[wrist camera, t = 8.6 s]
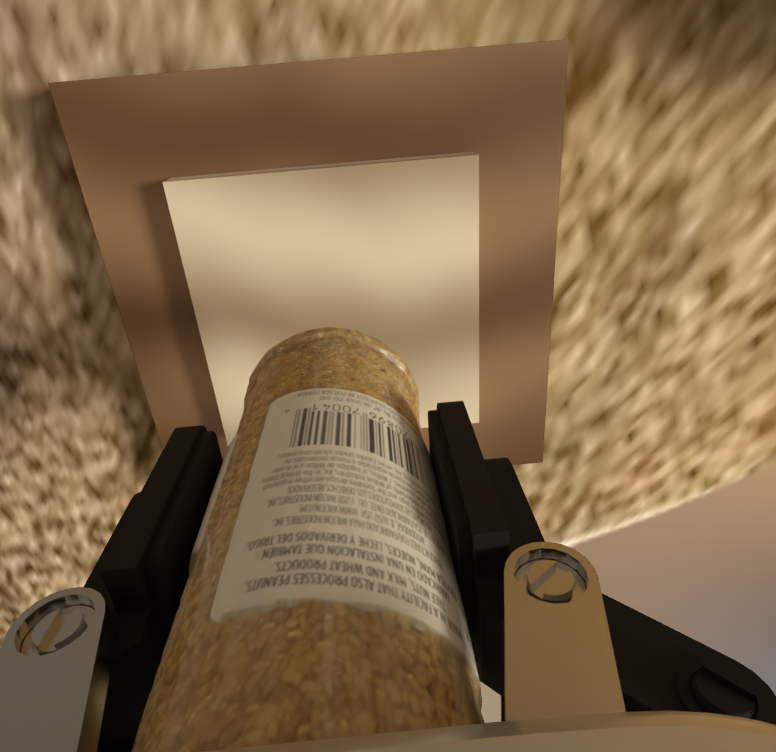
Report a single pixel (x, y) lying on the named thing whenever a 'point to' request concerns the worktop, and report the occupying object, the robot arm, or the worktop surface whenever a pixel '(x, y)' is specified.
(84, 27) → the worktop surface
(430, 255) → the stacking base
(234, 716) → the sprinkles bottle
